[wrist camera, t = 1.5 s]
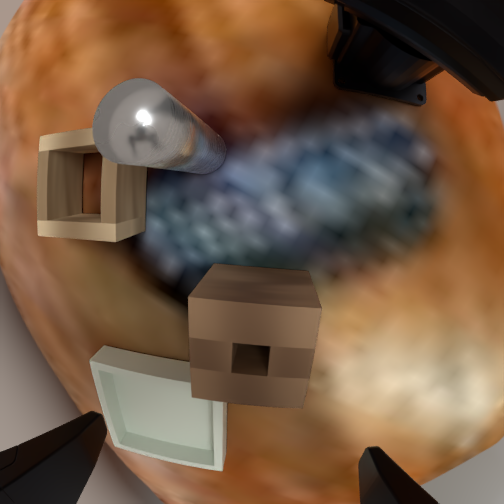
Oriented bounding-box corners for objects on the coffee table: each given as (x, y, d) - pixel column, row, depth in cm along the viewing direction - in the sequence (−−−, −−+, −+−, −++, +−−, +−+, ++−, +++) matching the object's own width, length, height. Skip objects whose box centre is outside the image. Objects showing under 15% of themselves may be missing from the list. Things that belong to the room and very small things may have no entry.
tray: (228, 367, 21) (223, 387, 18) (226, 451, 23) (222, 471, 21) (104, 345, 21) (89, 360, 19) (124, 430, 24) (114, 446, 21)
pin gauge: (227, 130, 17) (175, 73, 7) (224, 174, 18) (166, 163, 8) (184, 130, 17) (98, 84, 8) (181, 173, 18) (89, 166, 8)
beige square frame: (149, 134, 18) (120, 124, 14) (145, 230, 19) (116, 242, 15) (74, 141, 18) (40, 136, 14) (72, 226, 19) (38, 235, 15)
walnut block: (308, 271, 19) (322, 308, 13) (297, 352, 20) (302, 408, 14) (214, 263, 19) (188, 297, 13) (212, 344, 20) (191, 397, 15)
